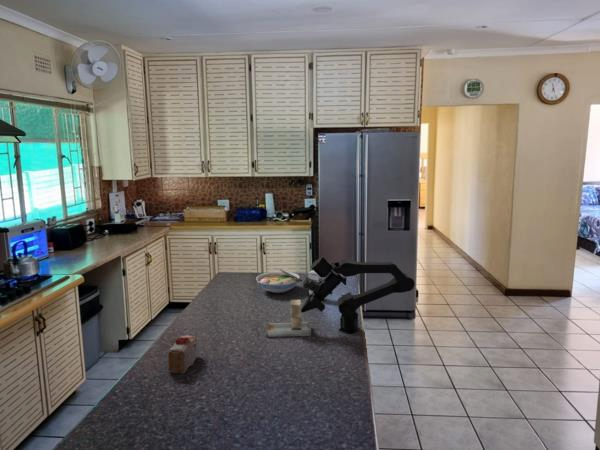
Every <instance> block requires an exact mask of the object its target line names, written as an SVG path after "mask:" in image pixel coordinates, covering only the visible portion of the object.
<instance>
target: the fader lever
mask: <svg viewBox="0 0 600 450" xmlns="http://www.w3.org/2000/svg"><path fill="white" fill-rule="evenodd" d="M301 309H302V302H301V299H290V323H291V329H301V322H302V312H301Z"/></svg>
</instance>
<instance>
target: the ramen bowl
mask: <svg viewBox="0 0 600 450" xmlns="http://www.w3.org/2000/svg"><path fill="white" fill-rule="evenodd" d="M278 269H279V268H278ZM255 280H256V282H257V283H258V285H259V286H260V287H261V288H262V289H263V290H265V291H267V292H271V293H273V294H282V293H285V292H287V291H289V290H291V289H293V288H294V287H295V286H296V285H297V284H298V283H299V282H303V279H301V276H300V275H299V274H298V273H295V272H291V271H285V270H283V269H279V271H268V272H265V273H261V274H258V275H257V276H256V278H255Z"/></svg>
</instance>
